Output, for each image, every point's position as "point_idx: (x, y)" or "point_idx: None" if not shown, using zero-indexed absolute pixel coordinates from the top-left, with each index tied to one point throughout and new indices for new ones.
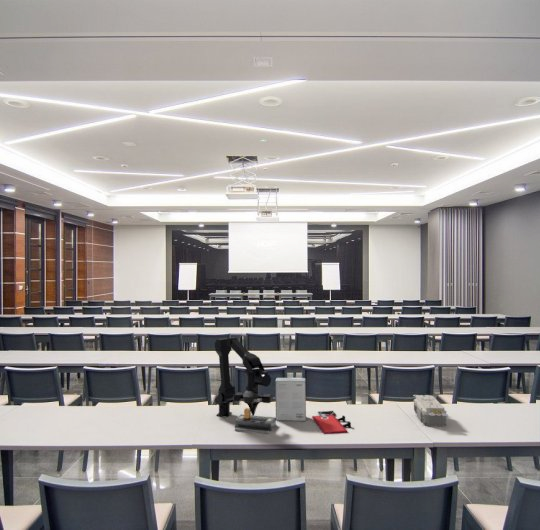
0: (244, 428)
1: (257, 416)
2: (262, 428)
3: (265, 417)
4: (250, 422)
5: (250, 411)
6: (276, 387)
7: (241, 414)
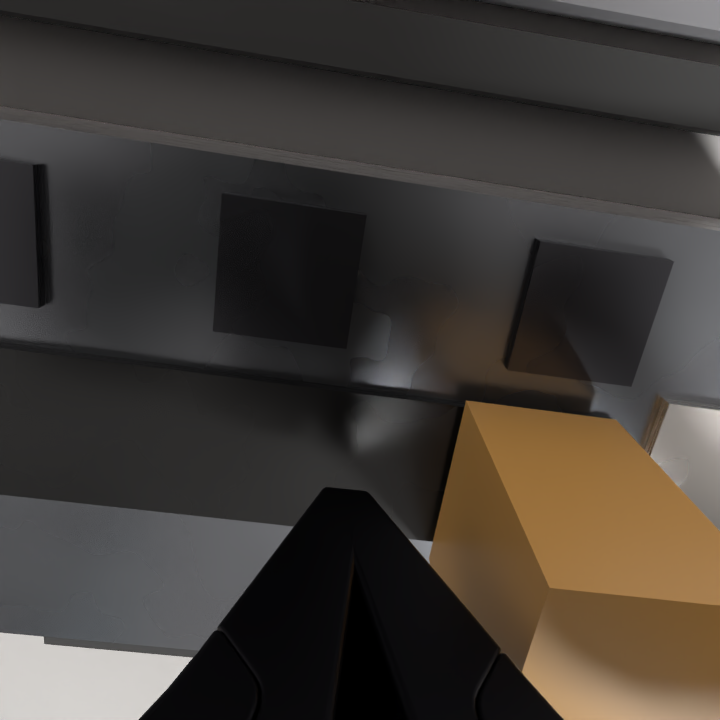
0: (521, 33)
1: None
2: (27, 112)
3: (24, 587)
4: (377, 177)
5: None
6: None
7: None
